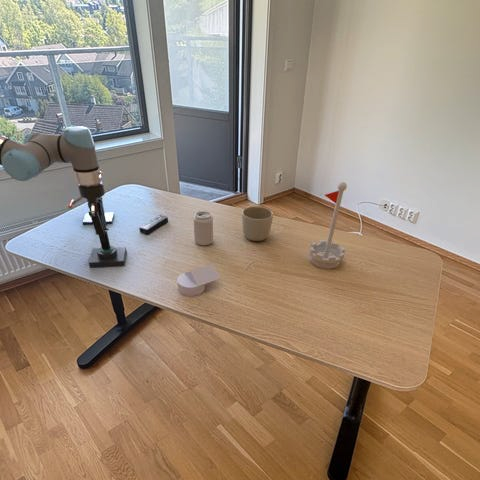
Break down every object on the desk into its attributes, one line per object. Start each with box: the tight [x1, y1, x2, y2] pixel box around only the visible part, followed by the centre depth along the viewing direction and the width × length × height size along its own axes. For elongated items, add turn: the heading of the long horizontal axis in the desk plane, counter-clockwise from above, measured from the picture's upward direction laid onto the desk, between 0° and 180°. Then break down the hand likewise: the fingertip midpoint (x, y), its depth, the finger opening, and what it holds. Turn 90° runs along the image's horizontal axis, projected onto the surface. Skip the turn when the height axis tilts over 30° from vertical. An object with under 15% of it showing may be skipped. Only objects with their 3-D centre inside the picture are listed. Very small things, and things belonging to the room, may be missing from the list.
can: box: [193, 210, 214, 247], centre depth 136 cm, size 8×8×12 cm
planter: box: [241, 205, 274, 242], centre depth 141 cm, size 12×12×11 cm
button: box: [101, 248, 112, 253], centre depth 125 cm, size 4×4×2 cm
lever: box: [68, 195, 84, 210], centre depth 144 cm, size 13×6×2 cm, turn 99°
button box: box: [88, 245, 128, 269], centre depth 126 cm, size 12×10×4 cm
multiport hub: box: [138, 214, 169, 236], centre depth 148 cm, size 4×14×2 cm, turn 153°
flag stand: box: [308, 181, 348, 270], centre depth 123 cm, size 13×13×30 cm
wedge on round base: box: [176, 263, 221, 297], centre depth 115 cm, size 9×7×13 cm
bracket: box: [82, 199, 115, 226], centre depth 147 cm, size 12×9×15 cm
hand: (106, 248), depth 125 cm, fingers closed
